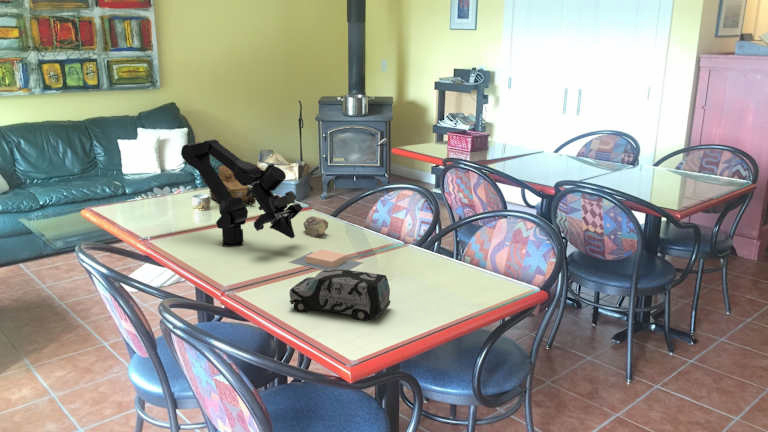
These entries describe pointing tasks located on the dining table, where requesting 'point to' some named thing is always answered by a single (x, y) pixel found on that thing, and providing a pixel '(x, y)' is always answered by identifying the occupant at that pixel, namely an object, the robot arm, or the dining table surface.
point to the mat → (345, 266)
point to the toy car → (343, 293)
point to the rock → (315, 226)
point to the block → (326, 259)
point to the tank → (233, 186)
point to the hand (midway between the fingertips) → (293, 237)
